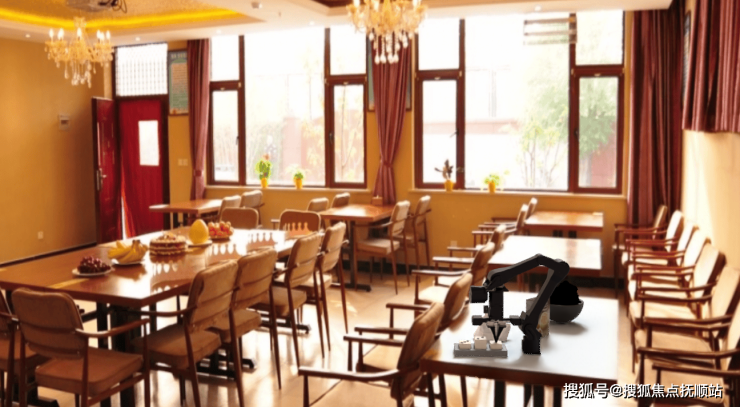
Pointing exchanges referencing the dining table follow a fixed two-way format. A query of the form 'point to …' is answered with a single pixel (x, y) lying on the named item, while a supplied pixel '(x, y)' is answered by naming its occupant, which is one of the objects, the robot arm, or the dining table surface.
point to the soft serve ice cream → (486, 332)
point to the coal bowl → (565, 303)
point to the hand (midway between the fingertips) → (496, 341)
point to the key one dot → (495, 345)
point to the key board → (481, 351)
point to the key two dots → (480, 342)
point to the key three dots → (464, 344)
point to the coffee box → (541, 317)
